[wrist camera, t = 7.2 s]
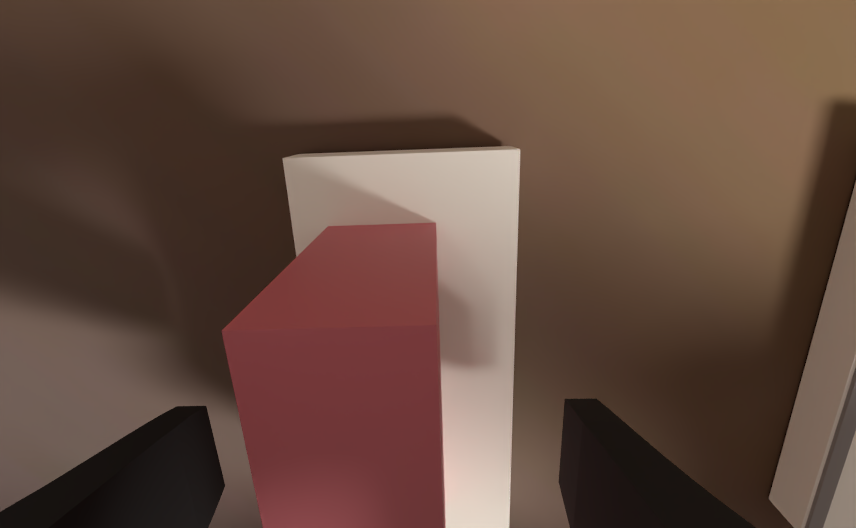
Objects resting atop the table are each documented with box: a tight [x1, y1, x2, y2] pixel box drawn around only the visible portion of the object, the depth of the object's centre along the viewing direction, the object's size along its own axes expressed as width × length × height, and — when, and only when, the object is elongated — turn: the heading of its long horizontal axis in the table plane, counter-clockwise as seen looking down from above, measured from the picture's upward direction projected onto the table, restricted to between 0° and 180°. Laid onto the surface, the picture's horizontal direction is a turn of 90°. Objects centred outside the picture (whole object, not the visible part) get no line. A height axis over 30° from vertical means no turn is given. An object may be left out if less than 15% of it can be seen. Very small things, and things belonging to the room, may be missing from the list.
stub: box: [222, 146, 520, 528], centre depth 9 cm, size 11×5×6 cm, turn 2°
